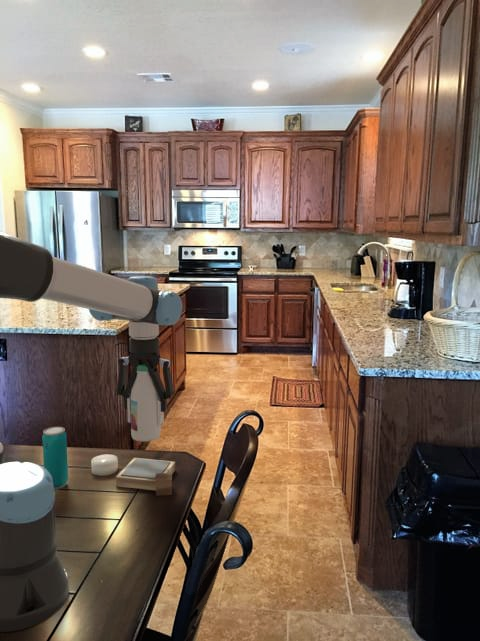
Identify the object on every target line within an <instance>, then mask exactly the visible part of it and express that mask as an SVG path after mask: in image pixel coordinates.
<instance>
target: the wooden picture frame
mask: <svg viewBox="0 0 480 641" xmlns="http://www.w3.org/2000/svg"><path fill="white" fill-rule="evenodd" d="M175 471H176V461H171V460H160V459H152V458H138V457H133V458H132V459H131V461H129V462H128V464H126V466H124V468H123V469H122V470H121V471H119V473H118V474H117V475H115V486H116V487H120V488H121V487H122V488H130V489H131V488H133V489H139V490H140V489H141V490H149V491H156V473H171V472H172V475H173V474H174V472H175Z"/></svg>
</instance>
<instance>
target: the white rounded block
mask: <svg viewBox="0 0 480 641" xmlns="http://www.w3.org/2000/svg"><path fill="white" fill-rule="evenodd" d="M118 459H119V458H118V456H116V455H114V454H111V453H110V454H107V453H106V454H100V455H96V456H94V457H93V458H92V459H91V463H90V464H91V473H92V475H95V476H98V477H99V476H100V477H105V476H109V475H112V474H115V473H116V472H118V470H119V464H118V461H119V460H118Z"/></svg>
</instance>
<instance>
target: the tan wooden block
mask: <svg viewBox="0 0 480 641" xmlns="http://www.w3.org/2000/svg"><path fill="white" fill-rule="evenodd" d="M172 475H173V474H172V472H171V473H156V490H155V496H156V497H157V496H158V497H159V496H172V495H173V476H172Z"/></svg>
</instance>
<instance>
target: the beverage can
mask: <svg viewBox="0 0 480 641" xmlns="http://www.w3.org/2000/svg"><path fill="white" fill-rule="evenodd" d="M41 437H42V440H41V441H42V457H43V458H42V459H43V460H42V461H43V467H44V468H45V469H46V470H47V471H48V472H49V473H50V475H51V477H52V480H53V486H54V491H55V490H60V489H63V488H64V487H66V485H67V484H68V480H69V466H68V465H69V464H68V443H67V441H68V440H67V432H66V429H65V427H62V426H51V427H47V428H45V429H44V430H43V434H42V436H41Z"/></svg>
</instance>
